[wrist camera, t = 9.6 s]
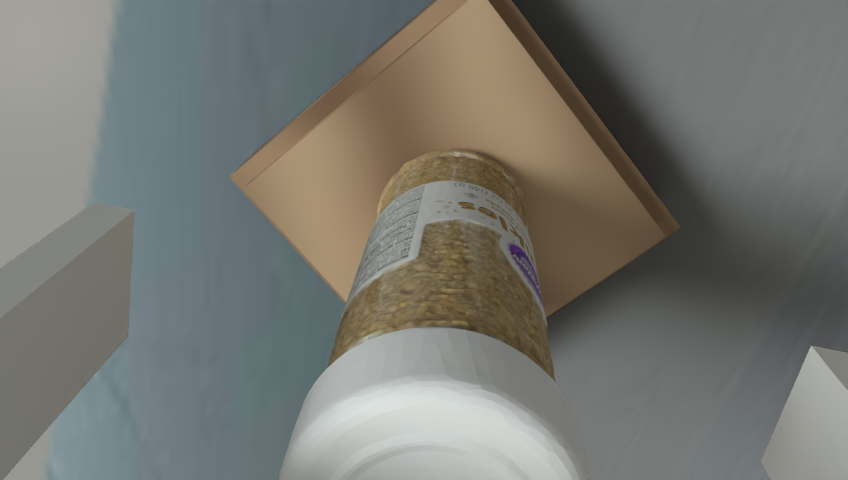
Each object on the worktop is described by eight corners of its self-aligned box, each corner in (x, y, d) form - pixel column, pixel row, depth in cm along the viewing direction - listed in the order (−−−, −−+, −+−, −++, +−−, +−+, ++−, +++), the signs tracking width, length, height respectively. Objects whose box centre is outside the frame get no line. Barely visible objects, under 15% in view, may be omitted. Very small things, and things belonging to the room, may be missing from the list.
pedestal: (481, -40, 24) (483, -38, 21) (659, 198, 27) (689, 238, 23) (254, 153, 27) (219, 186, 23) (434, 354, 29) (429, 413, 26)
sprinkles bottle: (558, 220, 23) (669, 544, 11) (449, 315, 24) (430, 704, 12) (452, 110, 22) (433, 324, 10) (343, 215, 23) (201, 525, 11)
